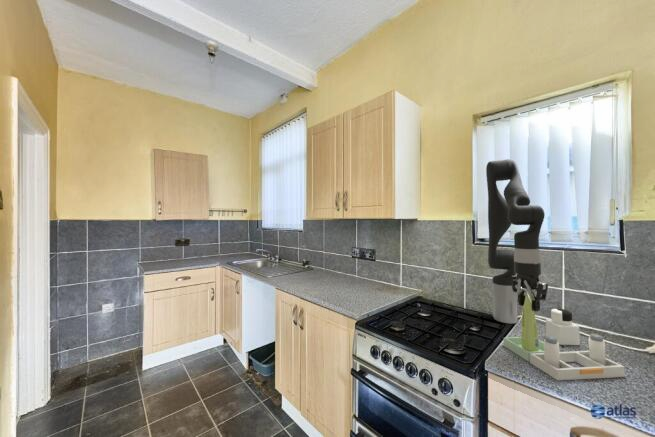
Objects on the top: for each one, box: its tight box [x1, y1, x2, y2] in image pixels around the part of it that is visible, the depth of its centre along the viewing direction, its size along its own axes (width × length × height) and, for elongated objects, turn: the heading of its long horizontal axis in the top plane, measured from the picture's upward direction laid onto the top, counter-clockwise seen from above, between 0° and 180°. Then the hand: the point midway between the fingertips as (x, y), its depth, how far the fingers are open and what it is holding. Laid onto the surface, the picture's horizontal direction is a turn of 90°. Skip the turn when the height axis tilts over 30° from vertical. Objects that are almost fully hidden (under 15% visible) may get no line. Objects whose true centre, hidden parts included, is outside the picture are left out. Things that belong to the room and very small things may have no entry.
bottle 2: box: [588, 333, 607, 366], centre depth 81 cm, size 4×4×10 cm
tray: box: [503, 336, 561, 363], centre depth 91 cm, size 11×11×3 cm
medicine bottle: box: [545, 308, 581, 346], centre depth 99 cm, size 7×7×12 cm
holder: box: [530, 350, 626, 381], centre depth 80 cm, size 10×21×3 cm, turn 93°
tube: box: [520, 291, 539, 352], centre depth 91 cm, size 6×5×20 cm
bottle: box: [543, 335, 560, 369], centre depth 80 cm, size 4×4×10 cm
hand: (528, 307), depth 91 cm, fingers closed on tube, 5 cm apart
